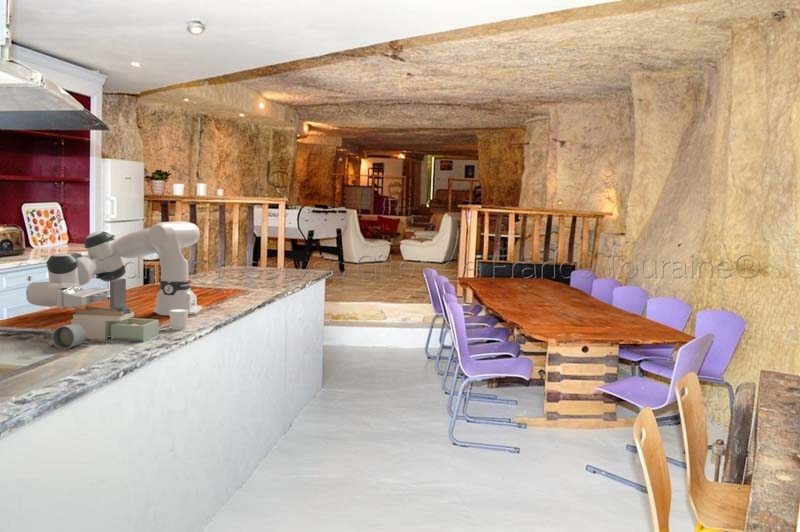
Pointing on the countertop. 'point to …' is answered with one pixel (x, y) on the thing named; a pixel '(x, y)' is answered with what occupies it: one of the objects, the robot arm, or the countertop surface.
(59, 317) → the countertop surface
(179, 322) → the white tapered cup
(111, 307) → the gray upright panel
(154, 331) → the sage green tray
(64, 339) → the grey tipped cup
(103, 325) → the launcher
